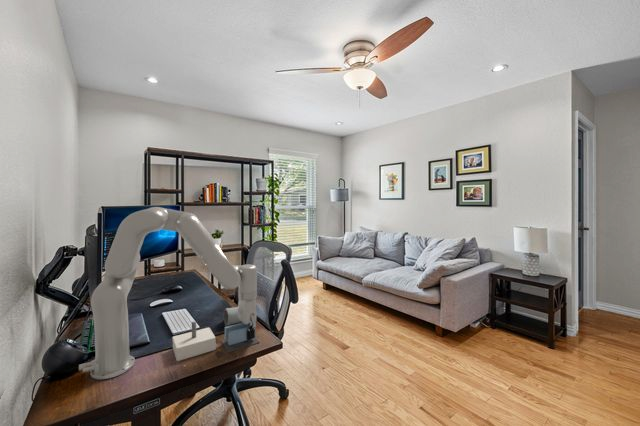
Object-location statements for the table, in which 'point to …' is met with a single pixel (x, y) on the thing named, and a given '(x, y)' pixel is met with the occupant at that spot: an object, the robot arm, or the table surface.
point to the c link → (236, 333)
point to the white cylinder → (231, 316)
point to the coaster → (239, 344)
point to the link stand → (193, 343)
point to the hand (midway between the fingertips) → (247, 334)
